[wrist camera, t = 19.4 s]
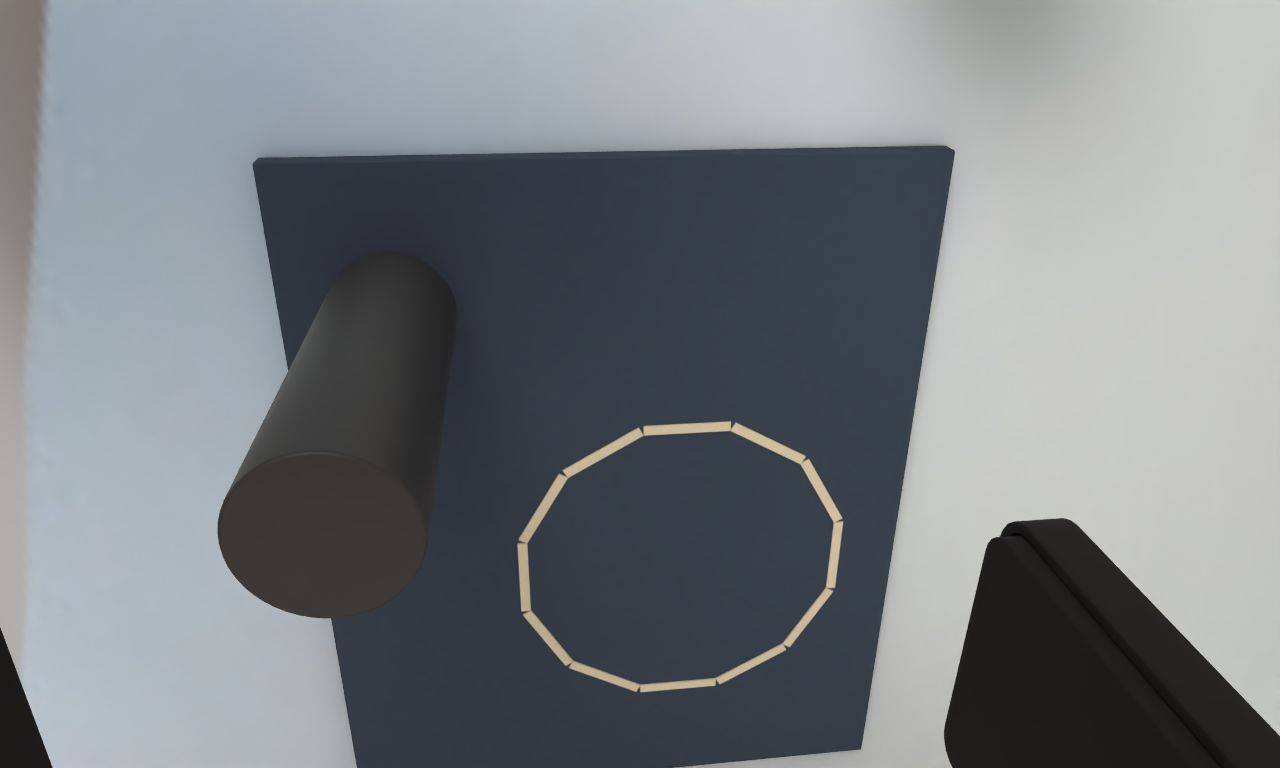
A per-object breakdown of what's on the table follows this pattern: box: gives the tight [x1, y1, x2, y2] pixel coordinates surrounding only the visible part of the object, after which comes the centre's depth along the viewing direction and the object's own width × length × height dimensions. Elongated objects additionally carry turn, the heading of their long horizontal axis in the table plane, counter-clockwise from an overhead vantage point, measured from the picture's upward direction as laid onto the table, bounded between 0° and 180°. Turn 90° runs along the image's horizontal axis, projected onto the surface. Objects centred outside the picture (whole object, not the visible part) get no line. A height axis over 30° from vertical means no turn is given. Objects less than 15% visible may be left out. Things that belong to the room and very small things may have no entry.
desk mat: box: [253, 146, 955, 768], centre depth 29 cm, size 22×18×1 cm
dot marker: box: [218, 252, 457, 618], centre depth 20 cm, size 3×3×11 cm
